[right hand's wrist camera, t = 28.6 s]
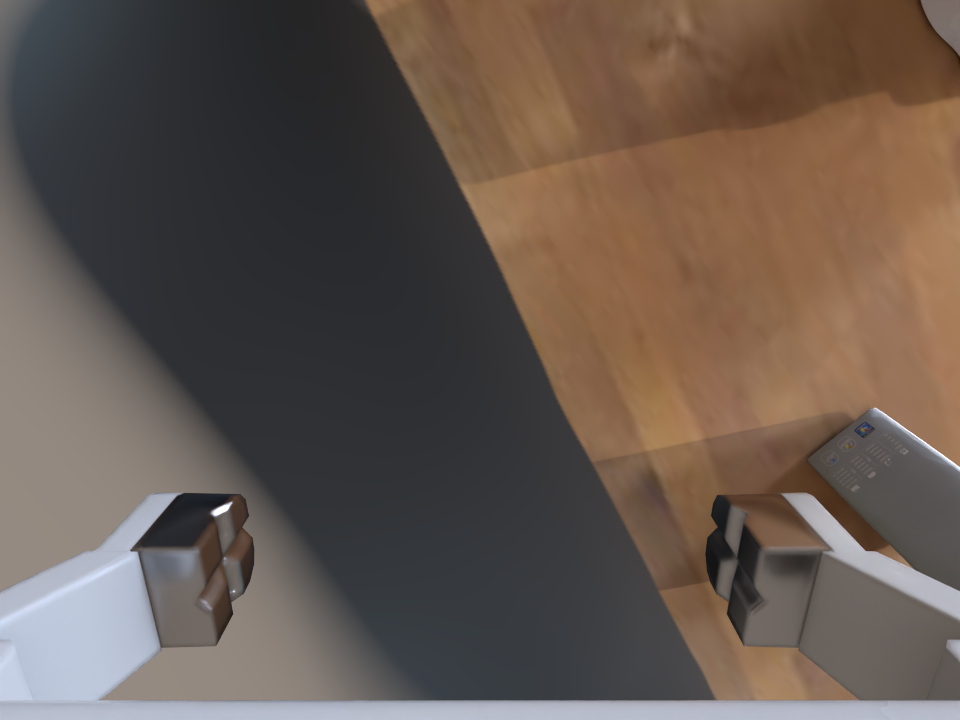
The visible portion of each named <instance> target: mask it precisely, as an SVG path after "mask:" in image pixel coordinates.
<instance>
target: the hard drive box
mask: <svg viewBox="0 0 960 720" xmlns="http://www.w3.org/2000/svg"><path fill="white" fill-rule="evenodd" d="M807 461H808V463H809V464H810V465H811V466H812V467H813V468H814V469H815V470H816V471H817V472H818V473H819V474H820V475H821V476H822V477H823V478H824V479H825V480H826V481H827V482H828V483H829V484H830V485H831V486H832V487H833V488H834V489H835V490H836V491H837V492H838V493H839V494H840V495H841V496H842V497H843V499H844V500H845V501H846V502H847V503H848V504H849V505H851V506H852V507H853V508H854V509H855V510H856V511H857V512H858V513H859V514H860V515H861V516H862V517H863V518H864V519H865V520H866V521H867V522H868V523H869V524H870V525H871V526H872V527H873V528H874V529H875V530H876V531H877V532H878V533H879V534H880V535H881V536H882V537H883V538H884V539H885V540H886V541H887V542H888V543H889V544H890V545H891V546H892V547H893V548H894V549H895V550H896V551H897V552H898V553H899V554H900V555H901V556H902V557H903V558H904V559H905V560H906V561H907V562H908V563H909V564H910V565H911V566H912V567H913V568H914V569H915V570H916V571H918V572H920V573H922V574H924V575H926V576H928V577H931V578H933V579H935V580H937V581H939V582H941V583H943V584H945V585H947V586H949V587H952V588H954V589H956V590H958V591H960V467H959V466H957V465H956V464H954V463H953V462H952V461H950V460H949V459H947V458H946V457H945V456H943V455H942V454H940V453H939V452H938V451H936V450H935V449H933V448H932V447H931V446H929V445H928V444H926V443H925V442H924V441H922V440H921V439H919V438H918V437H917V436H915V435H914V434H912V433H911V432H909V431H908V430H907V429H905V428H904V427H903V426H901V425H900V424H898V423H897V422H896V421H894V420H893V419H891V418H890V417H888V416H887V415H885V414H884V413H883V412H881V411H880V410H878V409H876V408H873V409H869V410H868V411H867V412H865V413H864V414H863V415H861V416H860V417H859V418H858V419H856V420H855V421H854V422H853V423H852V424H850V425H849V426H848V427H846V428H845V429H844V430H843V431H841V432H840V433H839V434H838V435H836V436H835V437H834V438H833V439H831V440H830V441H829V442H828V443H826V444H825V445H824V446H823V447H821V448H820V449H819V450H818V451H816V452H815V453H814V454H813V455H811V456H810V457H809V458H808V459H807Z"/></svg>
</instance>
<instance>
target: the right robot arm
mask: <svg viewBox="0 0 960 720" xmlns="http://www.w3.org/2000/svg"><path fill="white" fill-rule="evenodd" d="M921 3H922V7H923V9H924V12H925V14H926V16H927V18H928V20H929V22H930V23H931V25H932V27H933V28H934V29H935V31H936V32H937V33H938V34H939V35H940V36H941V37H942V38H943V39H944V40H945V41H946V42H947V43H948V44H949V45H950V46H951V47H952V48H953V49H954V50H955V51H956V52H957V53H958V55H959V56H960V0H921ZM248 517H249V514H248V509H247V504H246V499H245V498H244V497H243V496H242V495H241V494H205V493H183V494H182V493H154V494H150V495H148V496H147V497H146V498H145V499H144V500H143V501H142V502H141V503H140V504H139V505H138V506H137V507H136V508H135V509H134V510H133V511H132V512H131V513H130V514H129V515H128V516H127V518H126V519H125V520H124V521H123V522H122V523H121V524H120V525H119V526H118V527H117V528H116V529H115V530H114V531H113V532H112V533H111V534H110V535H109V536H108V537H107V539H106V540H105V541H104V542H103V543H102V544H101V545H100V546H99V547H98V548H97V549H96V550H95V551H85V552H82V553H80V554H78V555H76V556H74V557H72V558H70V559H67V560H65V561H63V562H61V563H59V564H57V565H55V566H53V567H51V568H48V569H46V570H44V571H42V572H40V573H38V574H36V575H34V576H31V577H30V578H27V579H25V580H23V581H21V582H19V583H17V584H15V585H12V586H10V587H8V588H6V589H4V590H2V591H0V720H960V591H958V590H956V589H954V588H952V587H949V586H947V585H945V584H943V583H941V582H939V581H937V580H935V579H933V578H931V577H928V576H926V575H924V574H922V573H920V572H918V571H916V570H914V569H912V568H909V567H907V566H905V565H903V564H901V563H899V562H897V561H895V560H893V559H890V558H888V557H886V556H884V555H882V554H880V553H878V552H876V551H865V550H864V549H863V548H862V547H861V546H860V545H859V544H858V543H857V542H856V541H855V539H854V538H853V537H852V536H851V535H850V534H849V533H848V532H847V531H846V530H845V529H844V528H843V527H842V526H841V525H840V524H839V523H838V522H837V521H836V520H835V518H834V517H833V516H832V515H831V514H830V513H829V512H828V511H827V510H826V509H825V508H824V507H823V506H822V505H821V504H820V503H819V502H818V501H817V500H816V498H815V497H814V496H812V495H810V494H808V493H777V494H747V495H717V497H716V499H715V501H714V503H713V508H712V513H711V517H712V518H713V520H714V521H715V523H716V525H717V526H718V527H717V529H716V530H715V531H714V532H713V533H712V534H711V535H710V536H709V537H708V538H707V546H706V564H707V572H708V575H709V579H710V582H711V584H712V586H713V588H714V590H715V592H716V594H717V595H719V596H720V597H722V598H723V599H725V600H726V601H728V602H729V605H728V610H727V615H728V617H729V619H730V621H731V623H732V625H733V626H734V628H735V630H736V632H737V634H738V636H739V638H740V640H741V641H742V643H743V645H744V646H759V647H794V648H799V649H798V650H799V651H800V652H801V653H802V654H804V655H805V656H806V657H807V658H809V659H810V660H811V661H812V662H814V663H815V664H816V665H817V666H818V667H820V668H821V669H822V670H823V671H825V672H826V673H827V674H828V675H829V676H831V677H832V678H833V679H834V680H836V681H837V682H838V683H839V684H841V685H842V686H843V687H844V688H845V689H847V690H848V691H849V692H850V693H852V694H853V695H854V696H855V697H856V698H858V699H859V700H780V701H413V700H410V701H409V700H372V701H371V700H366V701H365V700H357V701H356V700H354V701H353V700H348V701H347V700H338V701H337V700H336V701H335V700H319V701H317V700H316V701H315V700H311V701H310V700H295V701H294V700H287V701H285V700H284V701H283V700H282V701H279V700H274V701H273V700H272V701H271V700H269V701H268V700H267V701H266V700H265V701H261V700H259V701H258V700H257V701H256V700H255V701H254V700H249V701H102V700H101V699H102V698H104V697H105V696H106V695H107V694H109V693H110V692H111V691H112V690H113V689H115V688H116V687H117V686H118V685H120V684H121V683H122V682H123V681H125V680H126V679H127V678H128V677H129V676H131V675H132V674H133V673H134V672H136V671H137V670H138V669H139V668H141V667H142V666H143V665H144V664H145V663H147V662H148V661H149V660H150V659H152V658H153V657H154V656H155V655H156V654H158V653H159V652H160V651H161V648H165V647H200V646H216V645H217V643H218V641H219V640H220V638H221V636H222V634H223V632H224V630H225V628H226V626H227V625H228V623H229V621H230V619H231V617H232V615H233V610H232V605H231V602H232V601H234V600H235V599H237V598H238V597H240V596H241V595H243V594H244V592H245V590H246V588H247V586H248V584H249V582H250V579H251V575H252V570H253V566H254V545H253V538H252V537H251V536H250V535H249V534H248V533H247V532H246V531H245V530H244V529H243V528H242V526H243V525H244V523H245V521H246V520H247V518H248Z"/></svg>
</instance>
